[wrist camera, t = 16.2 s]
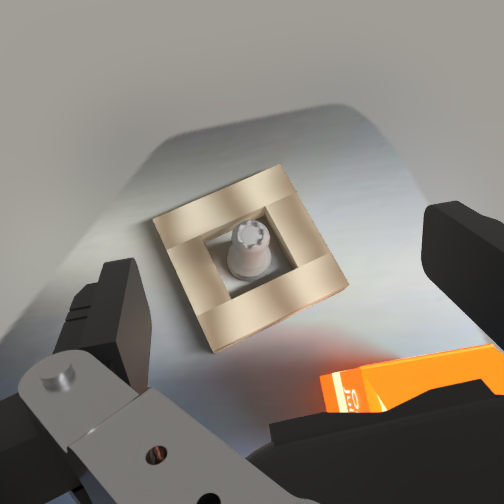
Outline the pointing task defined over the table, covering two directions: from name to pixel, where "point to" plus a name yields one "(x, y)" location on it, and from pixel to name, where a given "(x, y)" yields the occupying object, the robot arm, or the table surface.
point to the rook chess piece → (249, 251)
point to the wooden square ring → (269, 294)
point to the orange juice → (410, 378)
